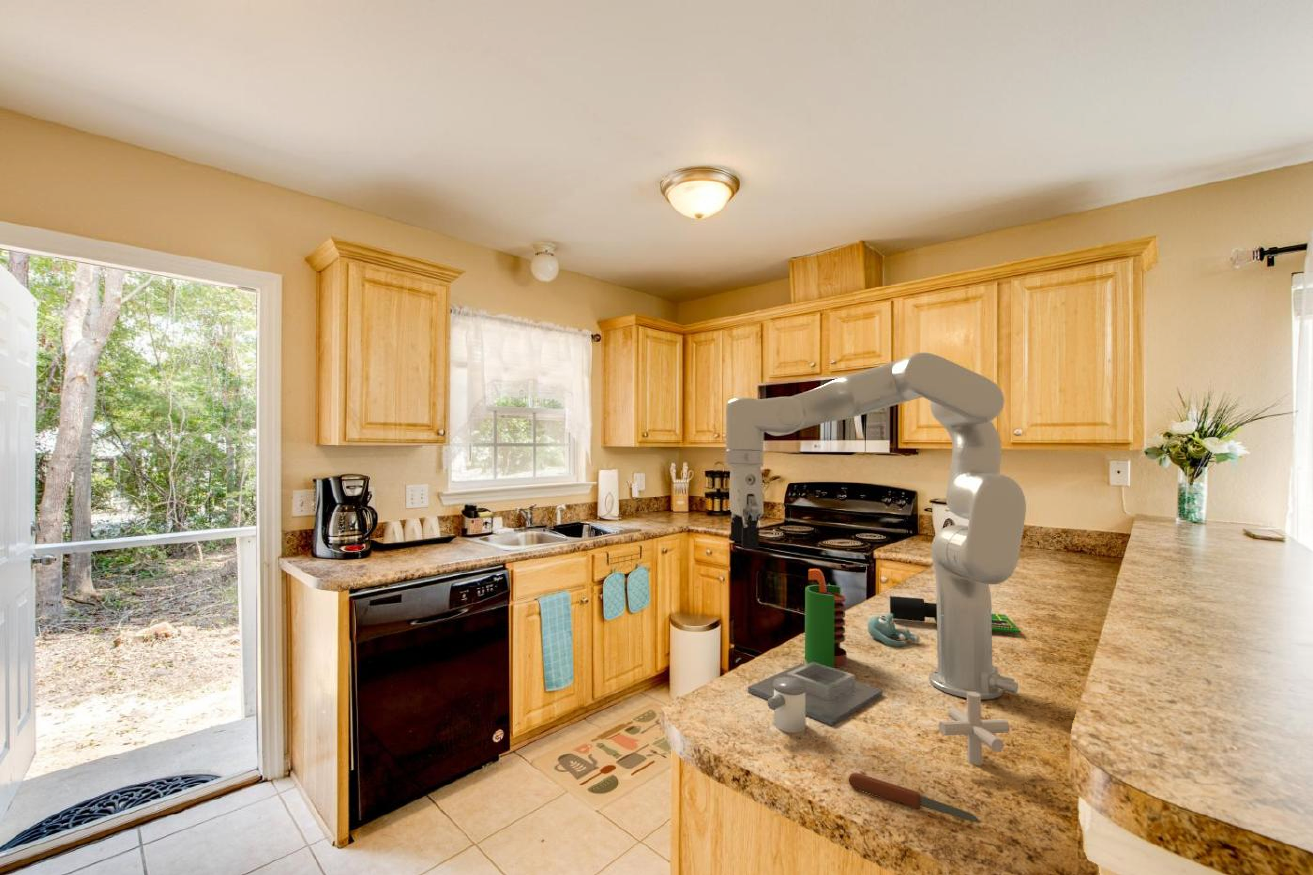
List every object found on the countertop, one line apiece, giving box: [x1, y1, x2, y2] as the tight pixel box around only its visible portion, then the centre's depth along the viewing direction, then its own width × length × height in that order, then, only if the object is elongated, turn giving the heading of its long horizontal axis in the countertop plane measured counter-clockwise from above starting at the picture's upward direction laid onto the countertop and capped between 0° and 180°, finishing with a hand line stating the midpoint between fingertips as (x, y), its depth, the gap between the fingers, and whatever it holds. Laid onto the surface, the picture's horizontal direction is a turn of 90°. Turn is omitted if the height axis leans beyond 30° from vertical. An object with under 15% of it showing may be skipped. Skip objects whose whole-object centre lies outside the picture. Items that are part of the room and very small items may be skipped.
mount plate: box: [747, 662, 883, 727], centre depth 106 cm, size 18×18×3 cm
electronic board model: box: [889, 595, 1021, 634], centre depth 151 cm, size 30×7×15 cm
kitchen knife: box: [848, 772, 981, 824], centre depth 72 cm, size 16×1×2 cm, turn 56°
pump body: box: [766, 677, 807, 734], centre depth 93 cm, size 5×8×7 cm
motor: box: [804, 568, 847, 669], centre depth 123 cm, size 10×9×20 cm
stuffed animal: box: [866, 613, 921, 647], centre depth 136 cm, size 11×7×12 cm
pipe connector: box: [938, 691, 1011, 766], centre depth 82 cm, size 10×10×10 cm
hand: (744, 544), depth 111 cm, fingers open, 9 cm apart
